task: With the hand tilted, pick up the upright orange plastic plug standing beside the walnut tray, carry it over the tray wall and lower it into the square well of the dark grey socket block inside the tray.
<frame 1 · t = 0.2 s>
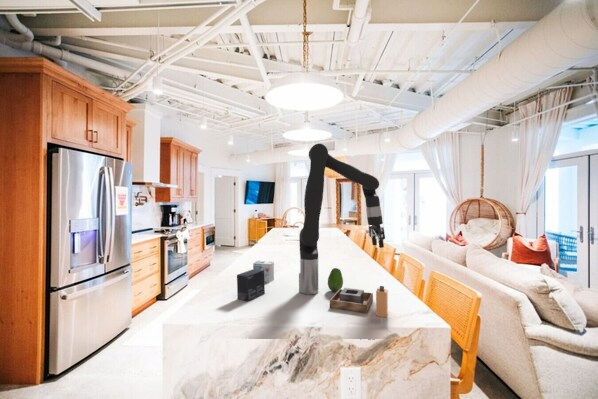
hand: (378, 246, 152), 23 cm above the countertop, tool pointing down, fingers open, 8 cm apart
light bulb box: (263, 280, 171), on the countertop
walled tray: (352, 304, 132), on the countertop
plug: (382, 314, 120), on the countertop
small box: (251, 296, 143), on the countertop
avocado: (335, 291, 151), on the countertop
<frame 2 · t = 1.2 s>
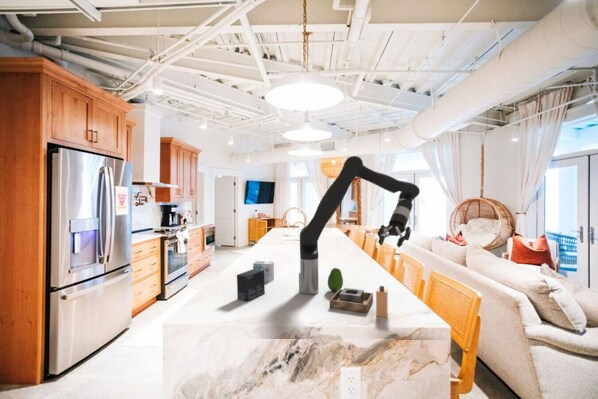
hand: (389, 245, 131), 27 cm above the countertop, tool tilted 45°, fingers open, 8 cm apart
nothing on the countertop moved.
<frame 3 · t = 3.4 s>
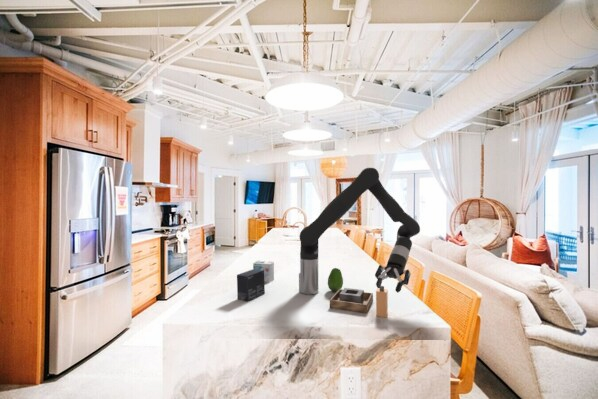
hand: (387, 289, 123), 9 cm above the countertop, tool tilted 45°, fingers open, 8 cm apart
nothing on the countertop moved.
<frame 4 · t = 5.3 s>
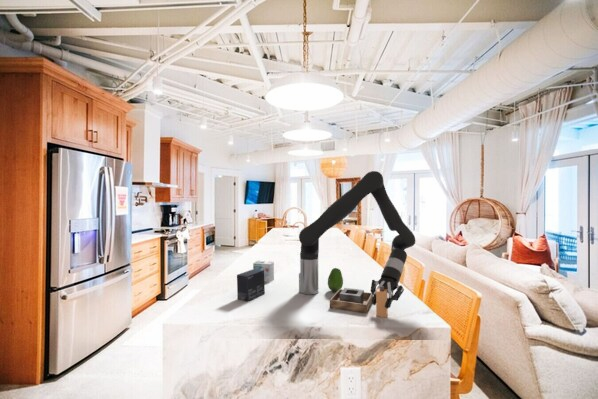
hand: (379, 305, 119), 4 cm above the countertop, tool tilted 45°, fingers closed on plug, 5 cm apart
plug: (382, 314, 120), on the countertop, touching gripper
everything else where it was.
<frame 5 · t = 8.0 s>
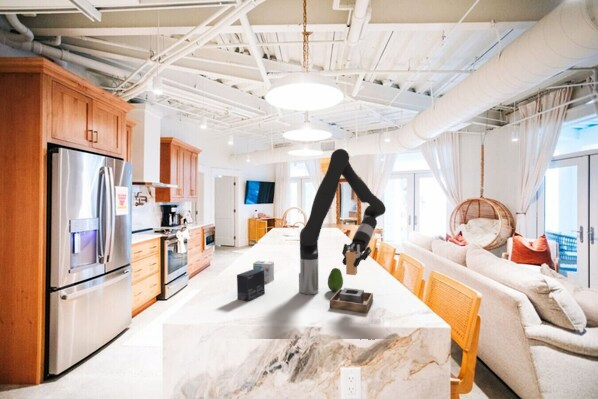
hand: (349, 265, 130), 18 cm above the countertop, tool tilted 45°, fingers closed on plug, 5 cm apart
plug: (351, 273, 132), point 14 cm above the countertop, touching gripper
everything else where it was.
when the fingers open (7 cm above the countertop, at t = 11.0 s): plug drops 2 cm, resting on walled tray.
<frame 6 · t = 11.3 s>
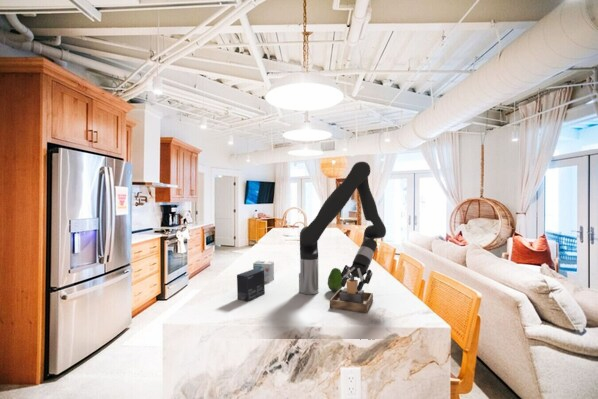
hand: (350, 288, 131), 8 cm above the countertop, tool tilted 45°, fingers open, 8 cm apart
plug: (352, 302, 132), point 1 cm above the countertop, touching walled tray
everything else where it was.
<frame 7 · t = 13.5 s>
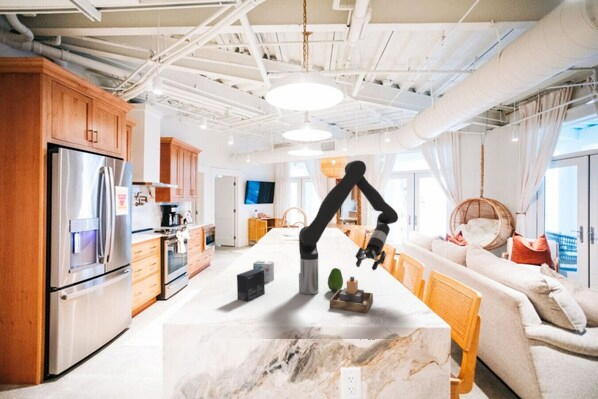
hand: (365, 267, 140), 14 cm above the countertop, tool tilted 45°, fingers open, 8 cm apart
nothing on the countertop moved.
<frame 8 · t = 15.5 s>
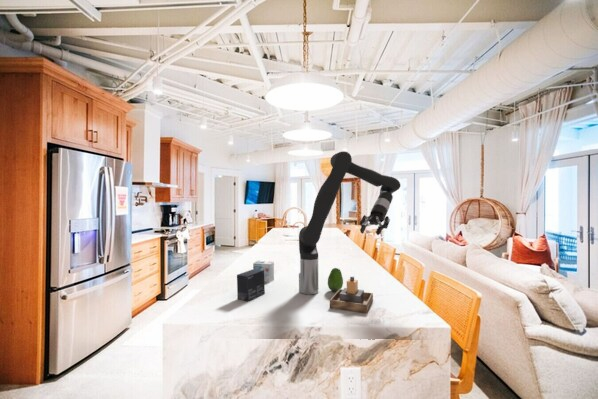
hand: (369, 233, 142), 31 cm above the countertop, tool tilted 45°, fingers open, 8 cm apart
nothing on the countertop moved.
at the end: plug 0.1 cm off-centre on the walled tray, point 0.6 cm above the walled tray's base; plug tilted 0°; the gripper is holding nothing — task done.
